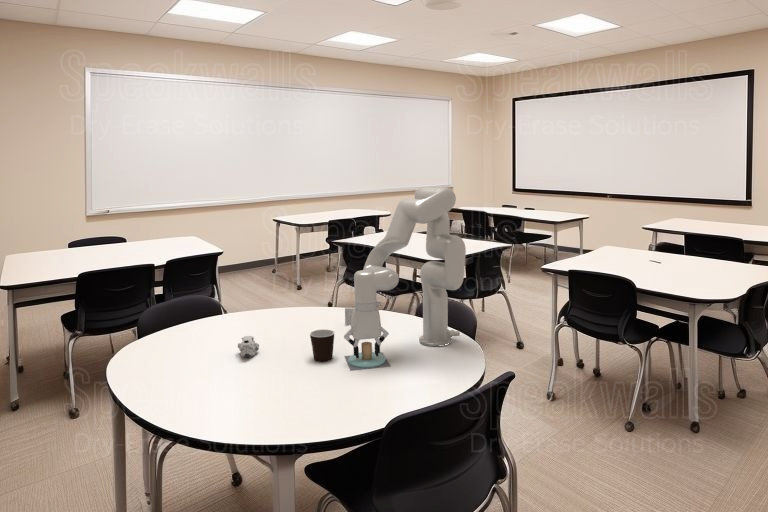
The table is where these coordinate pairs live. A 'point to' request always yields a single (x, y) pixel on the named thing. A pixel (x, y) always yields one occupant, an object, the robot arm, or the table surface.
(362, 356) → the lid
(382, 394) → the table surface
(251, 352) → the skull
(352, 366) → the mat
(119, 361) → the table surface
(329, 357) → the coffee mug
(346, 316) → the cassette
